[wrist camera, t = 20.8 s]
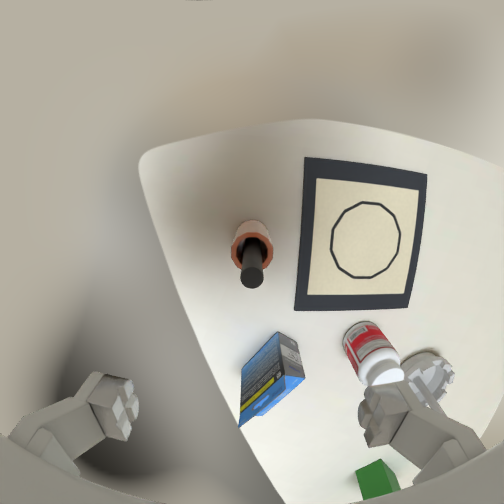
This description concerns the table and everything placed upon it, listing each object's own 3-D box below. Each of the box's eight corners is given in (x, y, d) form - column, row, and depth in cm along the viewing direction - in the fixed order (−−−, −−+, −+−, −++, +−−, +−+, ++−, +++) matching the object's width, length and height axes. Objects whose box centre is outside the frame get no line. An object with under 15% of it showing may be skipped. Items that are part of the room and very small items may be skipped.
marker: (245, 230, 34) (240, 266, 20) (259, 231, 34) (263, 267, 20) (245, 244, 34) (240, 288, 21) (259, 244, 34) (263, 289, 21)
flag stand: (398, 349, 39) (487, 487, 10) (450, 344, 39) (538, 447, 10) (374, 404, 42) (427, 531, 14) (425, 395, 43) (486, 498, 14)
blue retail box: (260, 379, 40) (262, 439, 28) (240, 368, 40) (236, 429, 28) (298, 342, 38) (312, 401, 26) (277, 329, 38) (285, 388, 26)
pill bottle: (368, 355, 39) (394, 400, 29) (336, 351, 39) (357, 400, 28) (385, 323, 38) (417, 364, 27) (351, 317, 37) (380, 361, 27)
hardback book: (394, 473, 53) (415, 530, 29) (373, 484, 54) (390, 541, 31) (380, 458, 49) (405, 528, 26) (355, 471, 50) (374, 541, 27)
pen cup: (236, 219, 34) (231, 231, 26) (269, 220, 34) (273, 233, 26) (235, 250, 35) (230, 271, 27) (267, 252, 35) (271, 273, 27)
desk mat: (304, 157, 32) (305, 156, 31) (425, 174, 32) (427, 174, 31) (294, 309, 37) (294, 311, 36) (406, 306, 37) (408, 308, 36)
